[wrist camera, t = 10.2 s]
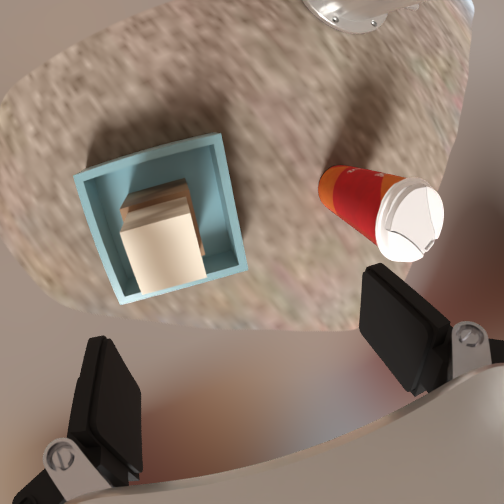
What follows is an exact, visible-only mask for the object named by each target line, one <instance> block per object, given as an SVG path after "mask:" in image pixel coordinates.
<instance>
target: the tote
mask: <svg viewBox="0 0 504 504" xmlns="http://www.w3.org/2000/svg"><path fill="white" fill-rule="evenodd" d="M73 177H74V181H75V184H76V187H77V191H78V194H79V197H80V201H81V204H82V207H83V210H84V213H85V216H86V219H87V222H88V225H89V228H90V231H91V233H92V236H93V239H94V242H95V245H96V247H97V250H98V253H99V255H100V258H101V260H102V263H103V265H104V268H105V270H106V273H107V275H108V278H109V280H110V282H111V285H112V287H113V290H114V292H115V294H116V296H117V299H118V301H119V303H120V305H123V304H127V303H130V302H134V301H138V300H141V299H145V298H149V297H153V296H156V295H160V294H164V293H167V292H171V291H175V290H178V289H182V288H186V287H189V286H193V285H196V284H200V283H204V282H207V281H211V280H214V279H218V278H222V277H225V276H229V275H232V274H236V273H239V272H243V271H246V270H248V266H247V261H246V256H245V251H244V246H243V241H242V236H241V231H240V226H239V221H238V216H237V211H236V206H235V201H234V196H233V191H232V186H231V181H230V176H229V171H228V166H227V161H226V156H225V151H224V146H223V141H222V135H221V133H215V132H213V133H209V134H204V135H200V136H195V137H191V138H187V139H183V140H179V141H175V142H171V143H167V144H163V145H160V146H156V147H152V148H149V149H145V150H142V151H138V152H135V153H132V154H128V155H125V156H122V157H119V158H116V159H113V160H109V161H106V162H103V163H100V164H98V165H95V166H92V167H89V168H86V169H84V170H82V171H81V172H79V173H77V174H75V175H74V176H73ZM182 178H185V179H186V182H187V185H188V188H189V192H190V196H191V200H192V204H193V208H194V212H195V216H196V220H197V224H198V228H199V232H200V236H201V240H202V244H203V248H204V252H205V255H203V256H201V257H202V260H203V264H204V268H205V272H206V275H207V278H203V279H200V280H196V281H192V282H189V283H185V284H181V285H178V286H174V287H170V288H166V289H163V290H159V291H155V292H152V293H148V294H144V295H142V293H141V290H140V288H139V285H138V283H137V280H136V277H135V275H134V272H133V269H132V267H131V264H130V261H129V258H128V256H127V253H126V250H125V247H124V244H123V241H122V238H121V235H120V231H121V228H122V226H123V223H124V222H123V219H122V216H121V213H120V210H119V209H120V207H121V206H122V204H123V202H124V200H125V198H126V197H127V195H128V194H129V193H132V192H136V191H139V190H143V189H146V188H149V187H153V186H156V185H160V184H164V183H167V182H171V181H175V180H178V179H182Z"/></svg>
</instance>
